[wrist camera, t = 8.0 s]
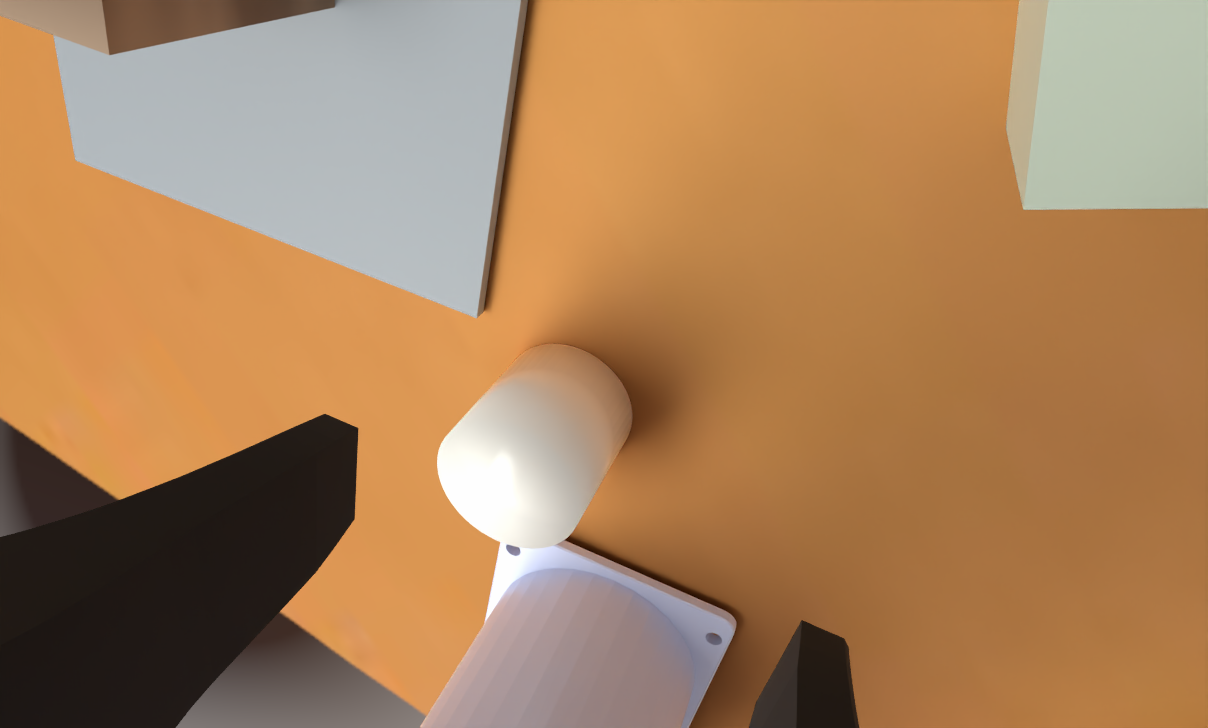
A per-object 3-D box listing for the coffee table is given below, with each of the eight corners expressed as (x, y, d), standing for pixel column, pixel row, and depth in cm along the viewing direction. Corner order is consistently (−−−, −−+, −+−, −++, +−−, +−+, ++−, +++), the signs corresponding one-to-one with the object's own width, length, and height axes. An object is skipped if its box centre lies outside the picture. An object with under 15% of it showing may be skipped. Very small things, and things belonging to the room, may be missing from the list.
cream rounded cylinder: (616, 479, 24) (565, 571, 21) (497, 429, 25) (431, 510, 22) (647, 374, 22) (595, 459, 19) (516, 323, 23) (444, 396, 20)
